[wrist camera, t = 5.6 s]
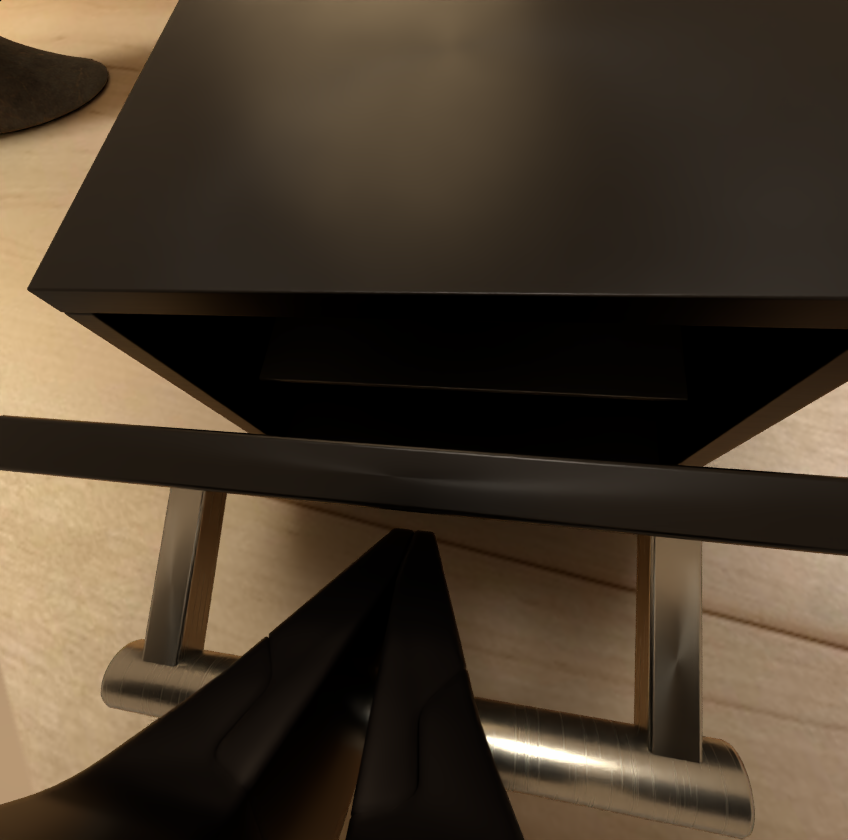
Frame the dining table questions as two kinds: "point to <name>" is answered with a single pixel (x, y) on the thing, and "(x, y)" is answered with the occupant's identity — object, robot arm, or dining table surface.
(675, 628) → the oven door
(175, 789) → the robot arm
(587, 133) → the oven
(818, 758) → the dining table surface
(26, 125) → the coffee table
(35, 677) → the dining table surface
